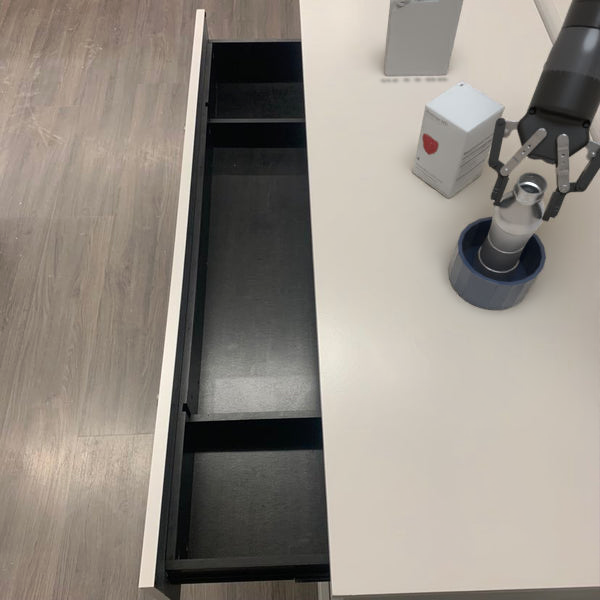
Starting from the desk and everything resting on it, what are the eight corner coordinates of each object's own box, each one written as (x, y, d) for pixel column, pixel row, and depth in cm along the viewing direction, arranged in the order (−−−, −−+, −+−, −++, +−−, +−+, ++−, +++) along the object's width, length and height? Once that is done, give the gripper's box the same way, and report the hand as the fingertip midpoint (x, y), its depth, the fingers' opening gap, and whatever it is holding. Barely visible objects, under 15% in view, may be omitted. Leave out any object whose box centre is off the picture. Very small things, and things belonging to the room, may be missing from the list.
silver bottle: (518, 265, 83) (566, 174, 66) (503, 297, 80) (550, 211, 63) (478, 249, 85) (516, 157, 68) (462, 280, 82) (497, 192, 65)
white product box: (410, 172, 95) (423, 103, 83) (444, 148, 98) (461, 78, 85) (448, 200, 92) (468, 132, 79) (482, 175, 94) (507, 105, 82)
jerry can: (372, 77, 110) (383, -54, 89) (371, 62, 112) (382, -69, 91) (447, 76, 109) (476, -57, 88) (444, 61, 112) (472, -72, 90)
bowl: (547, 287, 82) (564, 260, 76) (483, 323, 79) (496, 299, 73) (493, 233, 88) (505, 205, 82) (432, 265, 85) (440, 238, 79)
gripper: (515, 56, 62) (463, 197, 66) (647, 85, 58) (582, 232, 63) (513, 69, 69) (466, 196, 73) (631, 97, 65) (573, 228, 70)
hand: (520, 212), depth 68 cm, fingers closed on silver bottle, 5 cm apart
